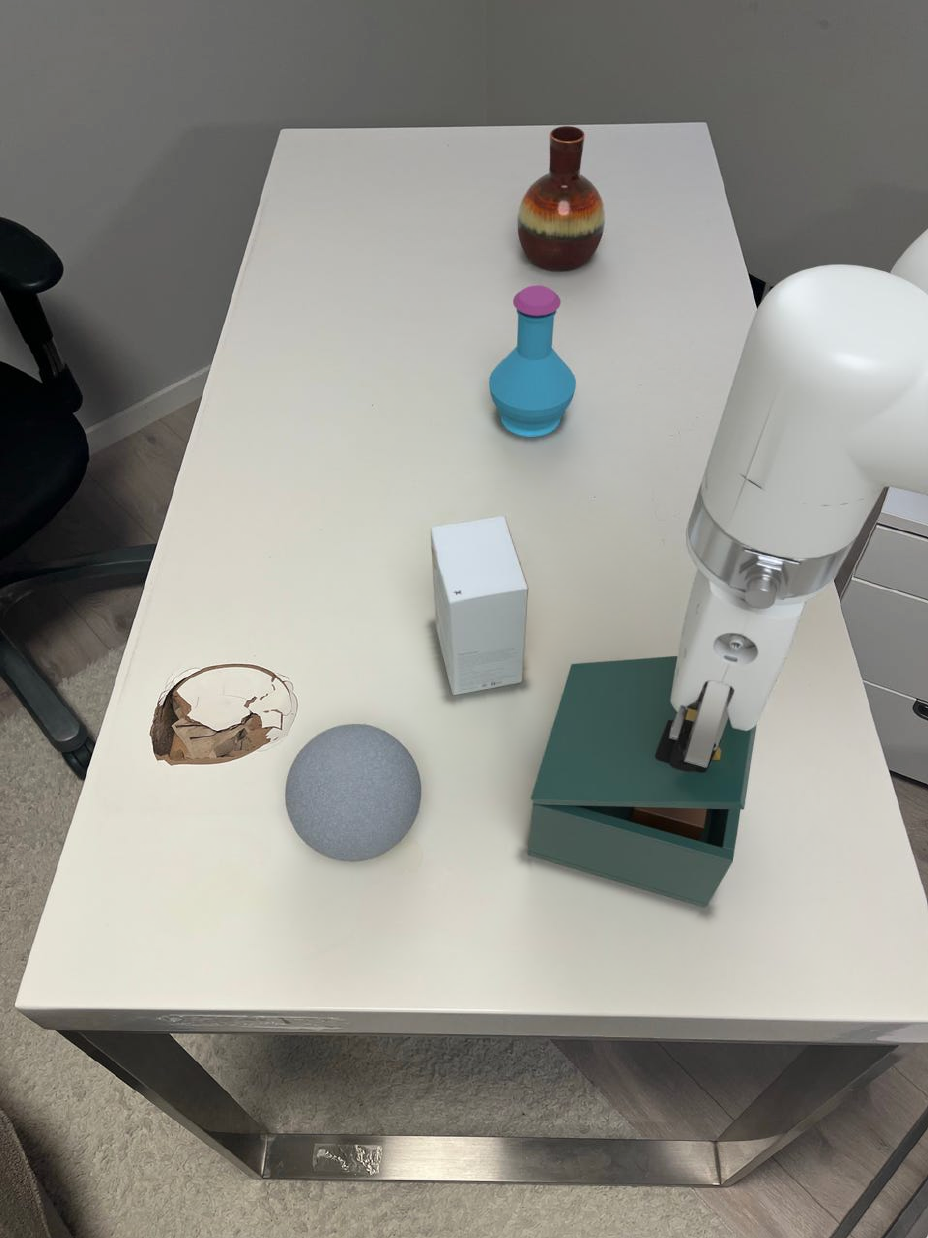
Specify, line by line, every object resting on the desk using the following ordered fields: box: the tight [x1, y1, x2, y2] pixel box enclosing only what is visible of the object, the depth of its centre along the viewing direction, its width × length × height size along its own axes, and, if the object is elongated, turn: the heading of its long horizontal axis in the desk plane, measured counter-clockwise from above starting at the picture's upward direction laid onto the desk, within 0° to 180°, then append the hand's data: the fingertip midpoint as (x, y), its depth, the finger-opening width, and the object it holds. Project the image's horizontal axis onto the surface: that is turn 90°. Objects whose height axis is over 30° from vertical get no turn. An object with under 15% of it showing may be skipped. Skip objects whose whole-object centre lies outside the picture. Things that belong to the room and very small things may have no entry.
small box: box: [430, 515, 529, 696], centre depth 75 cm, size 8×6×13 cm
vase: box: [516, 125, 606, 272], centre depth 112 cm, size 11×11×15 cm
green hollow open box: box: [527, 801, 742, 909], centre depth 67 cm, size 14×12×9 cm
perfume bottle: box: [488, 285, 577, 438], centre depth 93 cm, size 9×9×15 cm
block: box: [629, 807, 707, 841], centre depth 68 cm, size 5×5×5 cm
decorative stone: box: [284, 723, 422, 863], centre depth 67 cm, size 10×10×10 cm
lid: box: [530, 655, 758, 810], centre depth 59 cm, size 14×12×5 cm
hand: (689, 716), depth 58 cm, fingers closed on lid, 6 cm apart
